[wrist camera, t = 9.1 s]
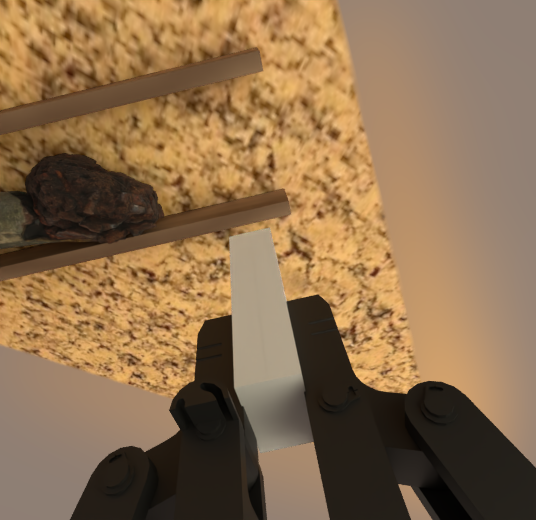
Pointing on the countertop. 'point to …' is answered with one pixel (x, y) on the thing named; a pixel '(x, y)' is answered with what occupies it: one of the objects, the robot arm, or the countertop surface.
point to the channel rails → (167, 226)
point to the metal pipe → (76, 205)
